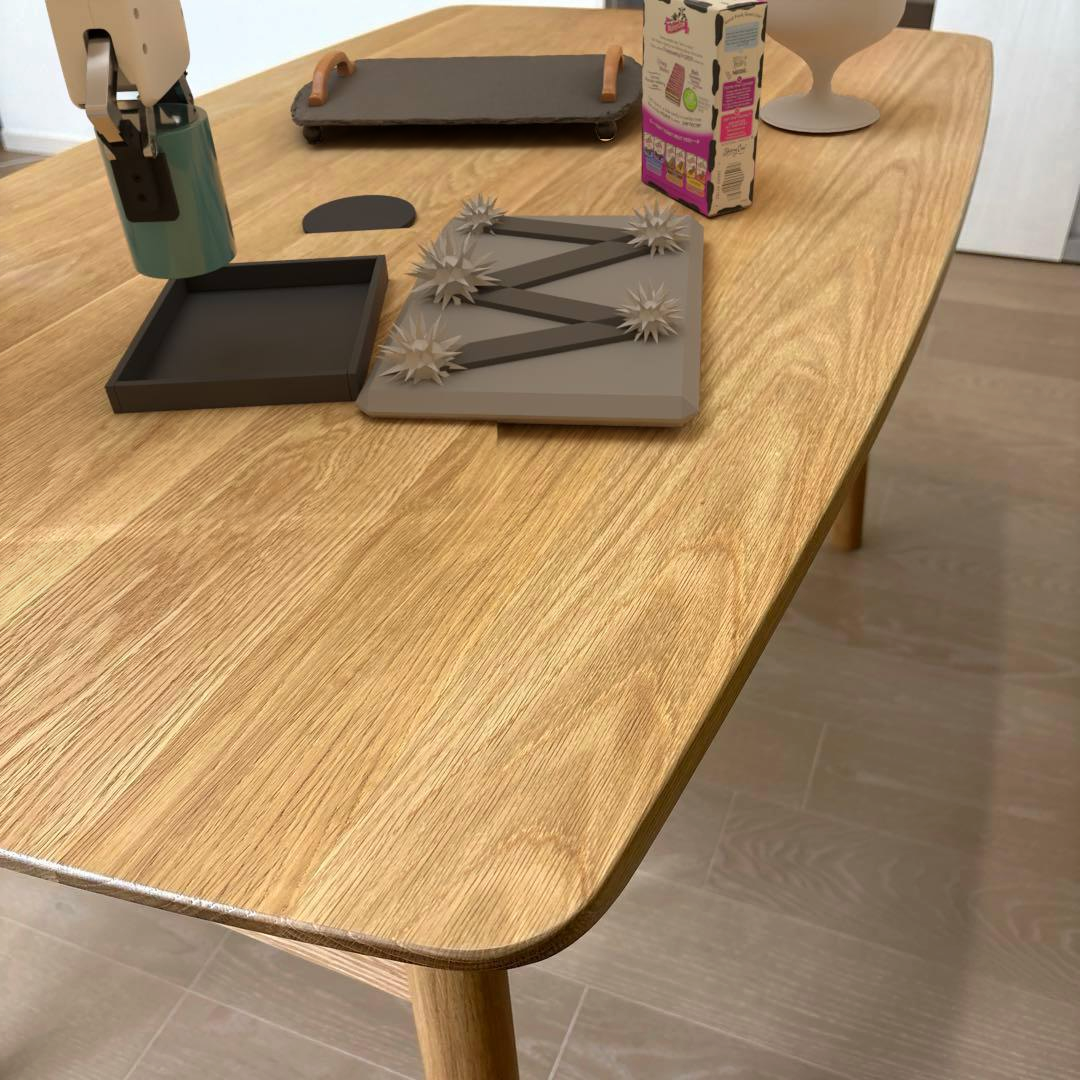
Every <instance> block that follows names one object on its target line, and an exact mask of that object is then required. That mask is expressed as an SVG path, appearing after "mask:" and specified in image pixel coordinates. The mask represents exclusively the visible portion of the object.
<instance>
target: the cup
mask: <svg viewBox="0 0 1080 1080" xmlns="http://www.w3.org/2000/svg"><path fill="white" fill-rule="evenodd" d="M153 109H154V119H155V128H156V138H157V148H158V153H165V155H166V159H167V163H168V167H169V171H170V175H171V179H172V183H173V187H174V191H175V195H176V199H177V203H178V207H179V211H180V215H179V217H178V218H177V220H175V221H166V222H138V223H133V222H130V221H128V220H127V218H126V216H125V212H124V209H123V205H122V202H121V198H120V195H119V191H118V188H117V184H116V181H115V177H114V174H113V170H112V167H111V163H110V160H108V159H107V157H106V155H105V151H104V143H103V142H102V141H101V139H100V137H98V135H97V132H96V131H97V129H96V128H95V127H94V126H93V131H94V136H95V138H96V142H97V145H98V149H99V152H100V154H101V155H100V156H101V160H102V163H103V166H104V170H105V173H106V177H107V180H108V184H109V187H110V190H111V195H112V198H113V200H114V204H115V208H116V212H117V215H118V218H119V222H120V226H121V228H122V232H123V236H124V239H125V242H126V246H127V250H128V253H129V256H130V260H131V263H132V267H133V269H134V270H135V271H136V272H137V273H138V274H140V275H142V276H144V277H148V278H152V279H159V280H169V279H181V278H189V277H195V276H199V275H203V274H206V273H209V272H212V271H215V270H217V269H220V268H221V267H223V266H225V265H227V264H228V263H232V261H233V260H234V259H235V258H236V256H237V253H238V247H237V243H236V238H235V237H236V236H235V233H234V228H233V225H232V220H231V219H232V218H231V215H230V210H229V206H228V201H227V196H226V191H225V188H224V183H223V178H222V175H221V174H222V173H221V169H220V165H219V162H218V161H219V160H218V156H217V151H216V147H215V142H214V138H213V134H212V133H213V132H212V129H211V124H210V119H209V115H208V113H207V111H206V110H205V109H204V108H203V107H200V106H198V105H195V104H194V105H190V104H183V103H157V104H154V105H153ZM122 118H123V119H129V120H130V121H131V122H132V123H133V124H134V126H135V127H136V128H137V129H138V131H139V132H140V125H139V116H138V114H122Z"/></svg>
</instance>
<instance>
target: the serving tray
mask: <svg viewBox="0 0 1080 1080" xmlns="http://www.w3.org/2000/svg"><path fill="white" fill-rule="evenodd" d="M642 69H643V64H641V63H640V62H637V61H636V59H635V58H634V57H632V56H630V55H627V54H624V52H623V47H622V46H621V44H620V45H619V44H614V45H610V46H608V48H607V51H606V53H586V54H585V53H584V54H543V55H487V56H486V55H485V56H483V55H482V56H476V55H475V56H449V57H447V56H445V57H439V56H438V57H403V58H402V57H400V58H399V57H384V58H362V59H356V60H350V59H349V57H348V56H347V54H346V53H345V52H344V51H342V50H332V51H329V52H327V53H325V54H324V55H323V56H322V57H321V59H319V61H318V62H317V64H316V66H315V67H314V71H313V75H312V80H311V81H309V82H308V83H306V84H304V85H303V86H302V87H301V88H300V89H299V90H298V91H297V93H296V94H295V96H294V98H293V101H292V103H291V106H290V115H291V118H292V119H291V121H292V122H293V123H294V124H295V125H296V126H299V127H302V130H301V132H302V136H303V138H304V139H305V140H306V142H307V144H309V145H315V144H318V143H317V142H319V143H321V142H322V138H323V135H324V130H323V126H403V125H427V126H429V125H431V126H443V125H444V126H459V125H460V126H461V125H523V124H527V125H528V124H596V125H595V133H596V136H597V137H598V138H600V139H611V138H613V139H612V140H610V141H609V142H611V141H613V140H614V137H615V136H616V135H617V131H618V128H617V123H616V121H617V120H620V119H621V118H622V117H624V116H625V115H627V114H630V112H632V111H633V110H634V109H636V108H637V107H638V106H639V105H640V104H642ZM600 139H599V141H601V142H603V141H602V140H600ZM312 143H313V144H312Z"/></svg>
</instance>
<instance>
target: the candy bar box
mask: <svg viewBox="0 0 1080 1080" xmlns="http://www.w3.org/2000/svg"><path fill="white" fill-rule="evenodd" d="M642 3H643V4H642V5H643V6H642V8H643V9H642V13H643V14H642V16H643V17H642V18H643V19H642V66H643V69H642V102H641V160H640V161H641V166H640V167H641V173H640V174H641V175H640V180H641V182H642V183H644V184H646V185H648V186H649V185H650V187H651V186H652V187H651V188H653V187H654V188H653V189H655V190H657V191H659V192H661V193H662V192H663V193H662V194H664V193H665V195H666V196H668V195H669V196H668V197H670V198H671V199H674V200H675V201H677V200H678V202H679V201H680V202H679V203H681V202H682V204H683V203H684V204H683V205H685V206H687V207H688V208H691V209H693V210H695V211H697V212H699V213H700V214H702V215H704V216H706V217H708V218H711V217H715V216H720V215H724V214H729V213H732V211H733V212H735V211H740V210H743V208H744V209H747V208H750V207H752V206H753V204H754V203H753V200H754V189H755V188H754V187H755V175H756V174H755V173H756V162H757V150H758V149H757V147H758V134H759V133H758V132H759V125H760V124H759V123H760V116H759V110H760V109H761V108H760V107H761V106H760V105H761V97H762V85H763V73H764V58H765V48H766V35H767V33H766V22H767V8H768V1H764V0H643V1H642Z"/></svg>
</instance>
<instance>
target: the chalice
mask: <svg viewBox="0 0 1080 1080" xmlns="http://www.w3.org/2000/svg"><path fill="white" fill-rule="evenodd" d="M764 1H768V8H767V22H766V35H767V36H768V37H769V38H770V39H772V41H774V42H776V43H778V44H779V45H781V46H783V47H784V48H786V49H787V50H788V51H790V52H792V53H794V54H795V55H796V56H798V57H799V58H800V59H802V60H803V61H804V62H805V63H806V65H808V67H809V70H810V72H811V75H812V85H811V89H810V90H809V91H808V92H807V93H795V94H790V95H785V96H780V97H776V98H774V99H772V100H769V101H768V102H766V103H765V104H763V106H760V107H761V108H759V118H760V119H761V120H762V121H764V123H765V122H766V123H767V124H769V125H771V126H774V127H777V128H780V129H784V130H789V131H795V132H804V133H836V132H837V133H839V132H847V131H852V130H857V129H861V128H864V127H867V126H870V125H872V124H874V123H875V122H877V121H878V120H879V118H880V116H881V112H880V110H879V109H878V108H877V106H875V105H874V104H873V103H872V102H870V101H869V100H865V99H863V98H860V97H856V96H852V95H847V94H839V93H834V91H833V90H832V80H833V77H834V74H835V73H836V72H837V70H838V68H840V66H841V65H842V64H843V63H844V62H845V61H846V60H848V59H849V58H851V57H853V56H854V55H856V54H858V53H860V52H862V51H864V50H865V49H868V48H869V47H871V46H873V45H875V44H877V43H879V42H881V41H882V40H884V39H885V38H886V37H888V36H889V35H890V34H892V32H893V31H894V30H895V29H896V28H897V26H898V25H899V23H900V21H901V19H902V18H903V16H904V13H905V12H906V11H905V10H906V5H907V0H764Z"/></svg>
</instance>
